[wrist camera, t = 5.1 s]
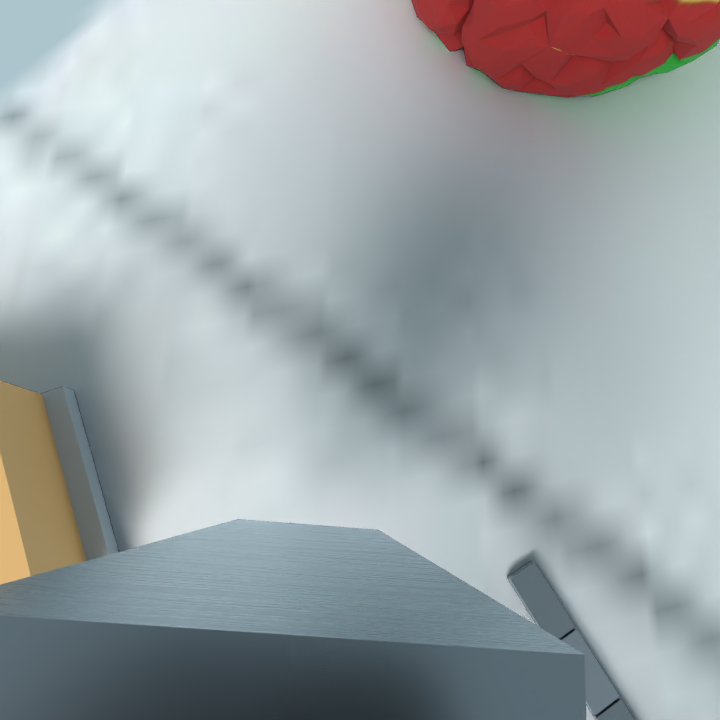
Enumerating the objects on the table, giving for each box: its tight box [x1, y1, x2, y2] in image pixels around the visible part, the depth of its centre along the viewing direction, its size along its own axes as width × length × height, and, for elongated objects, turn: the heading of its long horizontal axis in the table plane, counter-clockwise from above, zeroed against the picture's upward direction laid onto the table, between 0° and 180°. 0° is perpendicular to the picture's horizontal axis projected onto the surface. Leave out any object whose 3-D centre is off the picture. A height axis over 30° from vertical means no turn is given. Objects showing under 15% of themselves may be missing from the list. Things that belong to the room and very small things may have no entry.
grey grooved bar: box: [507, 561, 634, 720], centre depth 21 cm, size 11×3×1 cm, turn 31°
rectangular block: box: [0, 519, 586, 720], centre depth 9 cm, size 4×4×13 cm
